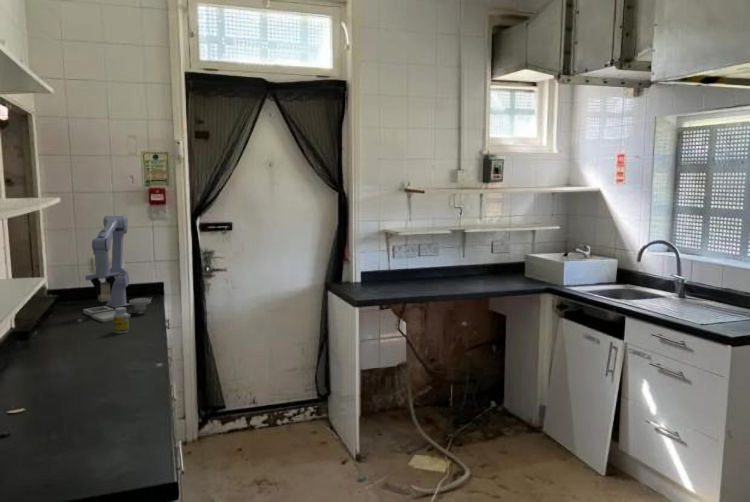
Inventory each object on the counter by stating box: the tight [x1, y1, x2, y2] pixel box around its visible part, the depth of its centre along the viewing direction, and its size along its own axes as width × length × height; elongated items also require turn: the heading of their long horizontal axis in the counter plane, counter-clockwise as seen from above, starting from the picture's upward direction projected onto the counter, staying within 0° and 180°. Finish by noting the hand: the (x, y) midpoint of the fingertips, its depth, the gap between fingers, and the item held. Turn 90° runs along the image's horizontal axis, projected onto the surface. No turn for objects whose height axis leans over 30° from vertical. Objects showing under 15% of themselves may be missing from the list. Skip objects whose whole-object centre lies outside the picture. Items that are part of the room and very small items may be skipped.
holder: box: [82, 305, 115, 318], centre depth 262 cm, size 10×10×2 cm
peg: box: [97, 281, 111, 303], centre depth 256 cm, size 4×4×8 cm
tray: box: [91, 310, 131, 324], centre depth 253 cm, size 12×12×2 cm
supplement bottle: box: [113, 306, 130, 334], centre depth 230 cm, size 5×5×10 cm
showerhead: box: [128, 297, 153, 315], centre depth 261 cm, size 9×7×10 cm
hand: (104, 294), depth 256 cm, fingers closed on peg, 4 cm apart
